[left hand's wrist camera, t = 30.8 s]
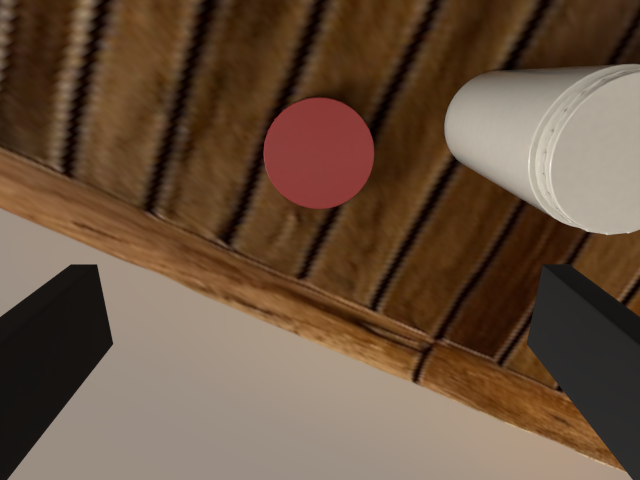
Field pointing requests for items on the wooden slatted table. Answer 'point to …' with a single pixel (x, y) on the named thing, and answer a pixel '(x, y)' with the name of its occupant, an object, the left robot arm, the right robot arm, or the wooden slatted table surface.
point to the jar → (556, 140)
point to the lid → (319, 152)
